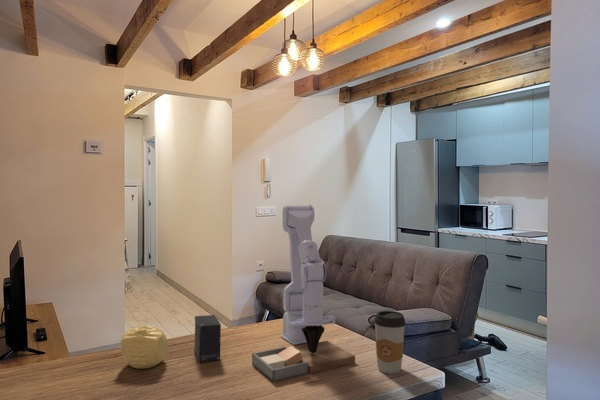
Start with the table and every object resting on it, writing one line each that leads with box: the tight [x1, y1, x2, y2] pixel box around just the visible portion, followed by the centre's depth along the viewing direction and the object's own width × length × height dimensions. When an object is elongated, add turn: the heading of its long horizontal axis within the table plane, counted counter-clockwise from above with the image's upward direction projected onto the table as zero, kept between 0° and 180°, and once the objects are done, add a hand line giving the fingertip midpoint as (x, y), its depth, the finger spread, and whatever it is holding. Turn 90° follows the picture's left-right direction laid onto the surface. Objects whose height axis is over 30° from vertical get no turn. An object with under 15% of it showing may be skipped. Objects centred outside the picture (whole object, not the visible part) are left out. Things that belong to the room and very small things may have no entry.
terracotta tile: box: [277, 345, 303, 367], centre depth 114 cm, size 5×5×2 cm
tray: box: [251, 346, 309, 383], centre depth 112 cm, size 13×10×3 cm
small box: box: [193, 314, 222, 363], centre depth 121 cm, size 11×6×10 cm, turn 22°
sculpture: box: [120, 325, 168, 370], centre depth 115 cm, size 11×12×11 cm
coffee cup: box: [374, 310, 406, 375], centre depth 113 cm, size 8×8×15 cm
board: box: [293, 340, 356, 375], centre depth 119 cm, size 14×15×2 cm
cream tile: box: [260, 354, 285, 369], centre depth 111 cm, size 5×5×2 cm
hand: (312, 351), depth 118 cm, fingers closed
